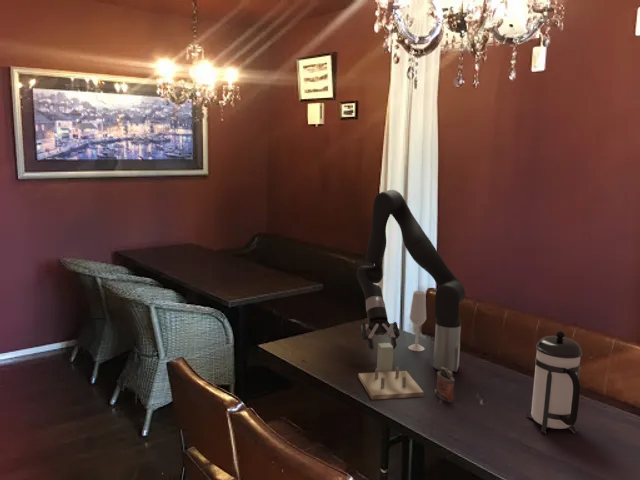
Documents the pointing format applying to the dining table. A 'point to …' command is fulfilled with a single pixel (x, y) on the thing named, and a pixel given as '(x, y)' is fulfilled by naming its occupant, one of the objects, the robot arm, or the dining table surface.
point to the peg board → (390, 385)
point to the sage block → (384, 357)
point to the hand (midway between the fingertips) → (383, 348)
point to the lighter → (445, 384)
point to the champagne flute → (418, 316)
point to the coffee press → (556, 382)
